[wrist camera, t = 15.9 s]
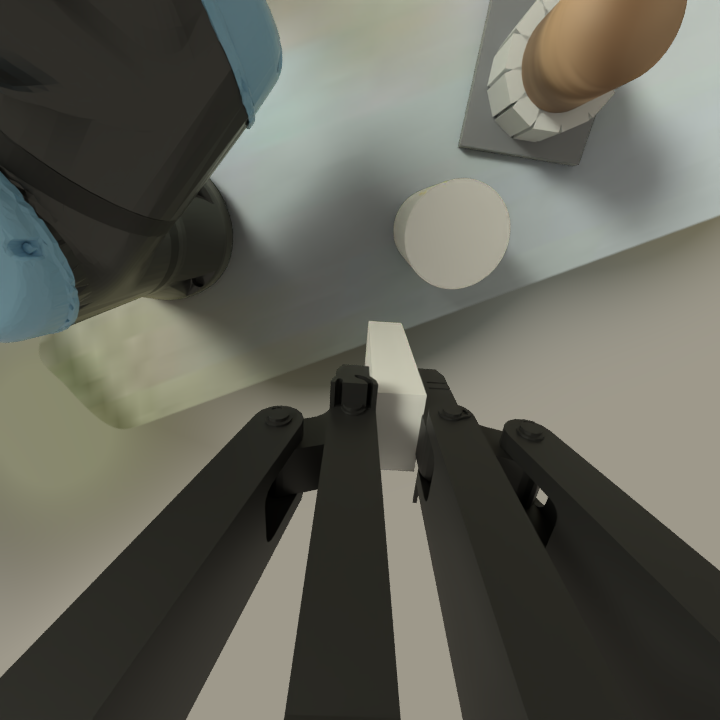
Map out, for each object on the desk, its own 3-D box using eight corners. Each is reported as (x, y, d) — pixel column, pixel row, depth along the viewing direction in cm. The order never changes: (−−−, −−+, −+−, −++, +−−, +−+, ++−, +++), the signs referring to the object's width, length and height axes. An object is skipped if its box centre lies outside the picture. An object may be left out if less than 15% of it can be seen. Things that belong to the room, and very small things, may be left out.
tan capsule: (493, 117, 33) (551, 75, 23) (517, 21, 30) (594, -75, 20) (565, 129, 33) (654, 93, 23) (595, 35, 30) (711, -53, 20)
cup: (482, 207, 37) (531, 206, 26) (445, 278, 40) (475, 304, 29) (413, 174, 36) (435, 158, 25) (381, 249, 39) (387, 265, 28)
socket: (457, 146, 35) (473, 136, 30) (492, -12, 30) (518, -57, 25) (573, 166, 36) (607, 158, 30) (624, 13, 31) (675, -26, 26)
